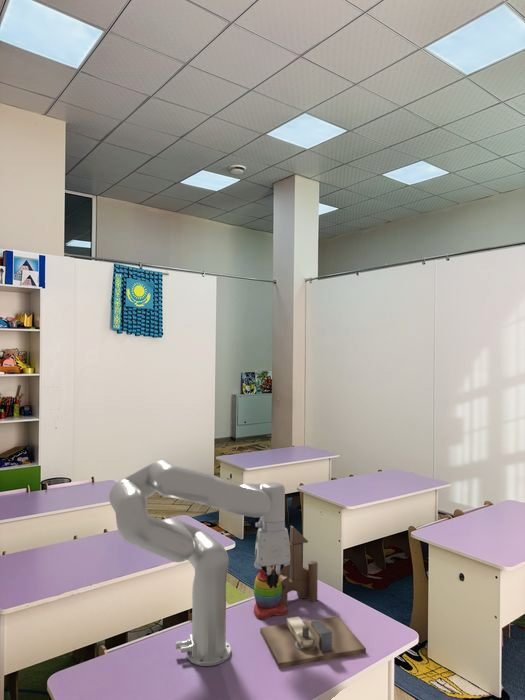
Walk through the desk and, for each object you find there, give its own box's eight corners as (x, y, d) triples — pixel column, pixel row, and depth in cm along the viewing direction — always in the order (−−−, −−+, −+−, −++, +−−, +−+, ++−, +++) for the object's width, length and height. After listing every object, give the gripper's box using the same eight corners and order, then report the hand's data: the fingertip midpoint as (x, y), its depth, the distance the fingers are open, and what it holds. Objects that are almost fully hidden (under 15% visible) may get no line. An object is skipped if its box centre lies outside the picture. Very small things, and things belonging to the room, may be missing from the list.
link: (316, 646, 140) (317, 630, 140) (300, 649, 139) (300, 633, 139) (300, 622, 153) (300, 608, 153) (285, 625, 152) (285, 610, 152)
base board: (278, 668, 134) (278, 662, 134) (260, 632, 151) (260, 626, 151) (365, 653, 141) (365, 647, 141) (338, 620, 158) (338, 615, 158)
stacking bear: (258, 620, 158) (258, 564, 159) (247, 606, 168) (247, 553, 168) (289, 614, 162) (289, 559, 163) (276, 600, 172) (276, 548, 172)
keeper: (322, 653, 138) (322, 633, 138) (310, 637, 146) (310, 618, 146) (331, 651, 139) (332, 631, 139) (320, 635, 147) (320, 616, 147)
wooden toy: (278, 608, 166) (278, 533, 167) (270, 599, 172) (271, 527, 173) (319, 600, 172) (319, 528, 172) (310, 592, 178) (310, 522, 179)
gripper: (251, 531, 144) (250, 594, 144) (300, 526, 148) (300, 588, 148) (245, 523, 152) (244, 583, 151) (291, 519, 156) (291, 578, 155)
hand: (272, 585), depth 150 cm, fingers closed
